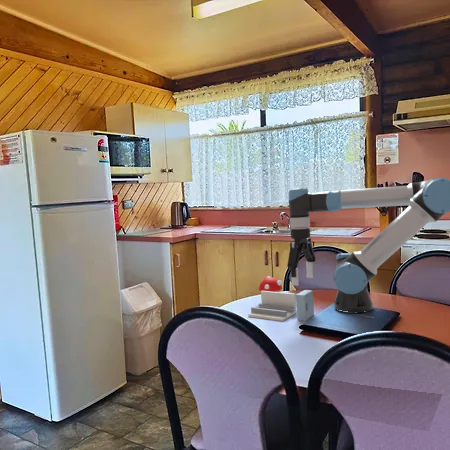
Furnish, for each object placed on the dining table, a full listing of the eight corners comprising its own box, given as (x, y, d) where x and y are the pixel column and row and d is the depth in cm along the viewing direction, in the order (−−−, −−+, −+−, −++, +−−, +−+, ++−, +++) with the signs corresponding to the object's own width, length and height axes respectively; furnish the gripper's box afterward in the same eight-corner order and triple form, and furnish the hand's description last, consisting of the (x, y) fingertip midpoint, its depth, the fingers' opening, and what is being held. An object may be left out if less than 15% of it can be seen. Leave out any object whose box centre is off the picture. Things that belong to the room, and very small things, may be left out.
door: (306, 313, 169) (304, 289, 168) (314, 314, 167) (313, 290, 166) (297, 319, 163) (295, 294, 162) (306, 320, 161) (304, 295, 160)
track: (296, 312, 172) (295, 293, 171) (282, 321, 162) (281, 301, 161) (263, 308, 181) (261, 290, 181) (248, 316, 172) (247, 297, 171)
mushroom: (282, 306, 183) (281, 279, 182) (258, 306, 185) (256, 280, 184) (284, 299, 193) (282, 274, 192) (260, 300, 195) (259, 275, 194)
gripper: (304, 224, 175) (307, 274, 176) (276, 231, 154) (279, 287, 156) (321, 224, 170) (324, 275, 172) (294, 231, 150) (297, 289, 152)
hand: (303, 281), depth 164 cm, fingers open, 13 cm apart
